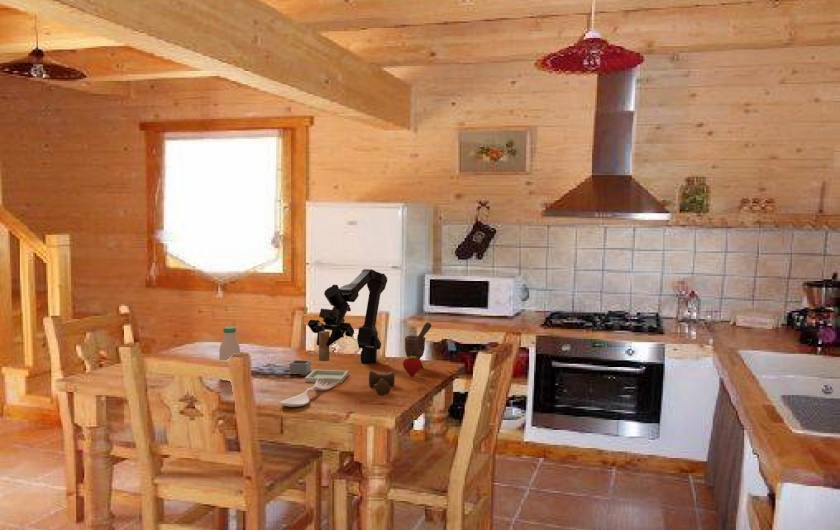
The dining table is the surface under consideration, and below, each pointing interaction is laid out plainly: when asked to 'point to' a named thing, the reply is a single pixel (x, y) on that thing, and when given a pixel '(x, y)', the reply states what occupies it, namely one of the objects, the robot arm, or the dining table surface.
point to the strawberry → (412, 365)
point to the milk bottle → (228, 344)
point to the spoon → (303, 397)
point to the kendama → (381, 382)
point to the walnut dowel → (323, 346)
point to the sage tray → (327, 376)
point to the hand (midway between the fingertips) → (322, 345)
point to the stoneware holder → (300, 367)
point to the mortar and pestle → (416, 343)
